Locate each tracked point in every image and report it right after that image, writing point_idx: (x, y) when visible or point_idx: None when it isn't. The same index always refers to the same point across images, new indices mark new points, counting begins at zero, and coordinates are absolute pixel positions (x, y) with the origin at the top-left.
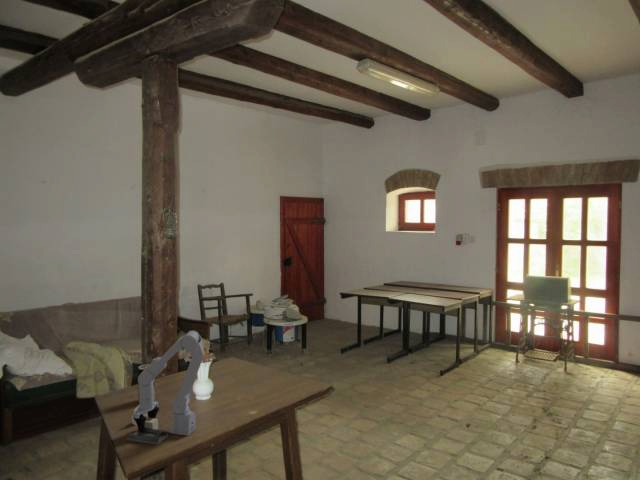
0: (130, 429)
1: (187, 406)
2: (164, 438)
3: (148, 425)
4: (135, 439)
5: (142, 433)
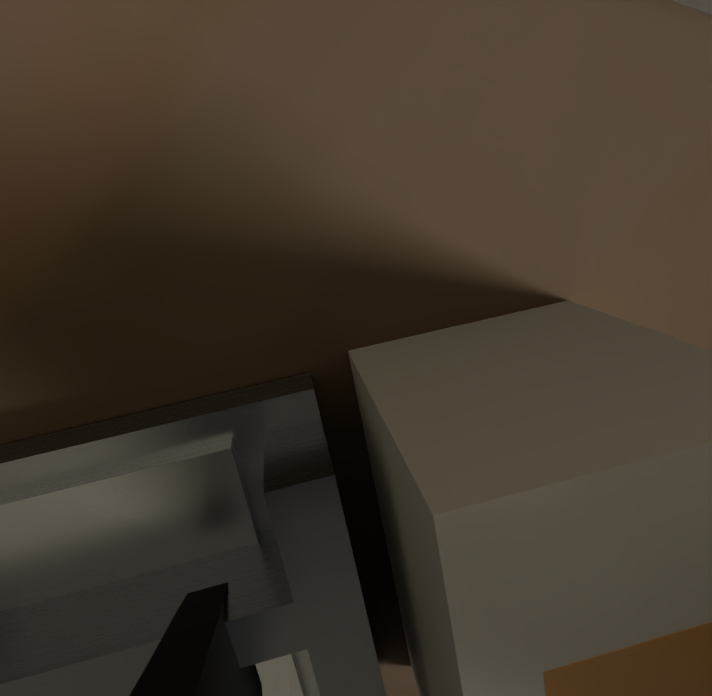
0: (327, 24)
1: None
2: None
3: None
4: None
5: None
